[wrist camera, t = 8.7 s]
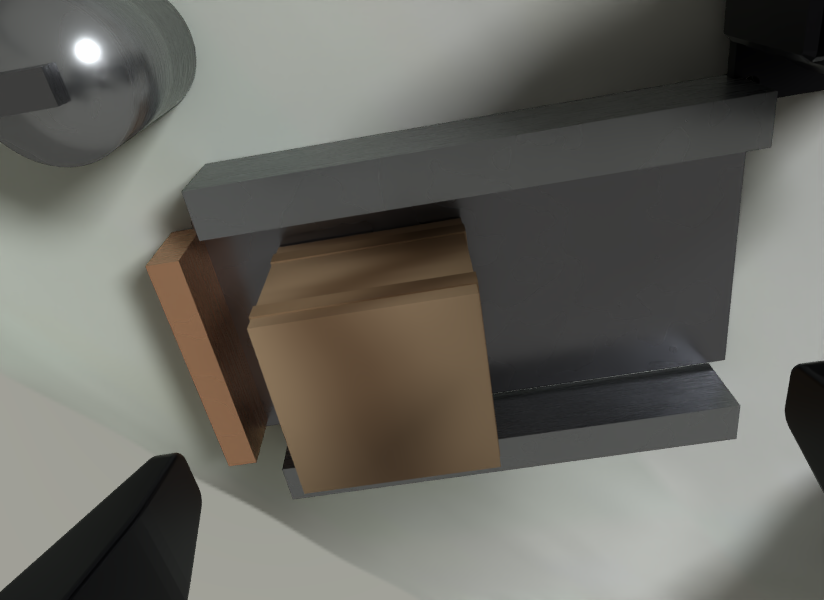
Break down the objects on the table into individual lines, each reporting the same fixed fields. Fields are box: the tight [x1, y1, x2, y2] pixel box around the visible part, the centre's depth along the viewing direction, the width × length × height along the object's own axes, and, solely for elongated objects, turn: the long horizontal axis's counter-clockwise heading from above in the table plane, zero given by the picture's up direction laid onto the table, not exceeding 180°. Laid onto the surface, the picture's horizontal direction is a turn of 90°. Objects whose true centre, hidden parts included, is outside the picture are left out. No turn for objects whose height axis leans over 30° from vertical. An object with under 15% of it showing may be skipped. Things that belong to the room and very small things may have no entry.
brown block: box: [247, 218, 501, 494], centre depth 20 cm, size 6×6×5 cm
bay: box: [0, 0, 778, 499], centre depth 18 cm, size 20×17×6 cm
